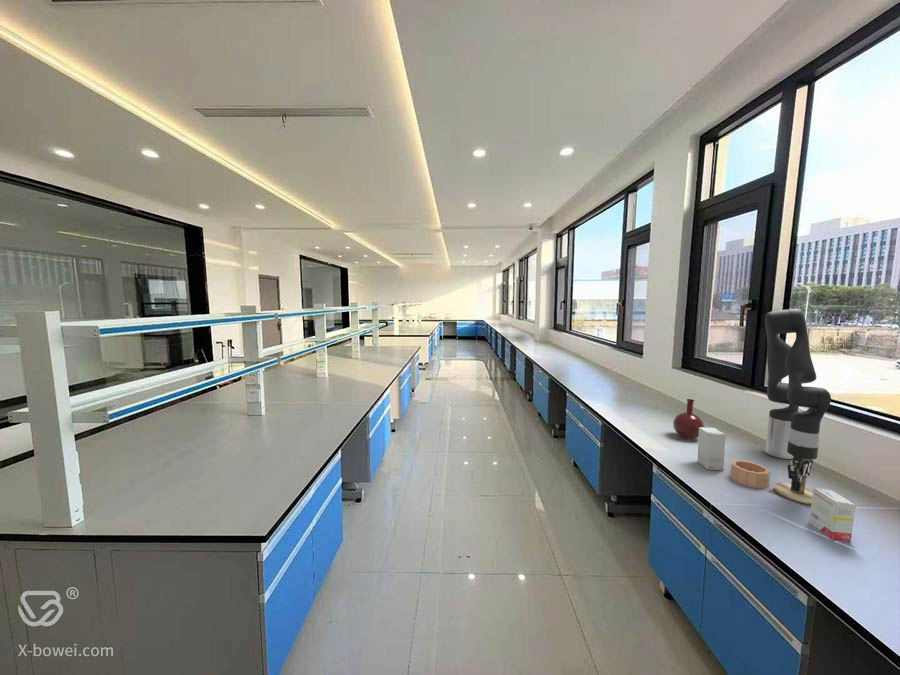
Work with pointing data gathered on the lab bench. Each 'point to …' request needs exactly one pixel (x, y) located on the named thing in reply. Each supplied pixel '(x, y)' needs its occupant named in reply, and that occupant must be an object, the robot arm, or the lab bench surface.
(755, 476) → the bowl
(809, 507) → the mat
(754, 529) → the lab bench surface
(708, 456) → the skincare box
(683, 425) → the red vase
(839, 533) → the ink box
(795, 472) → the robot arm
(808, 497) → the lid
